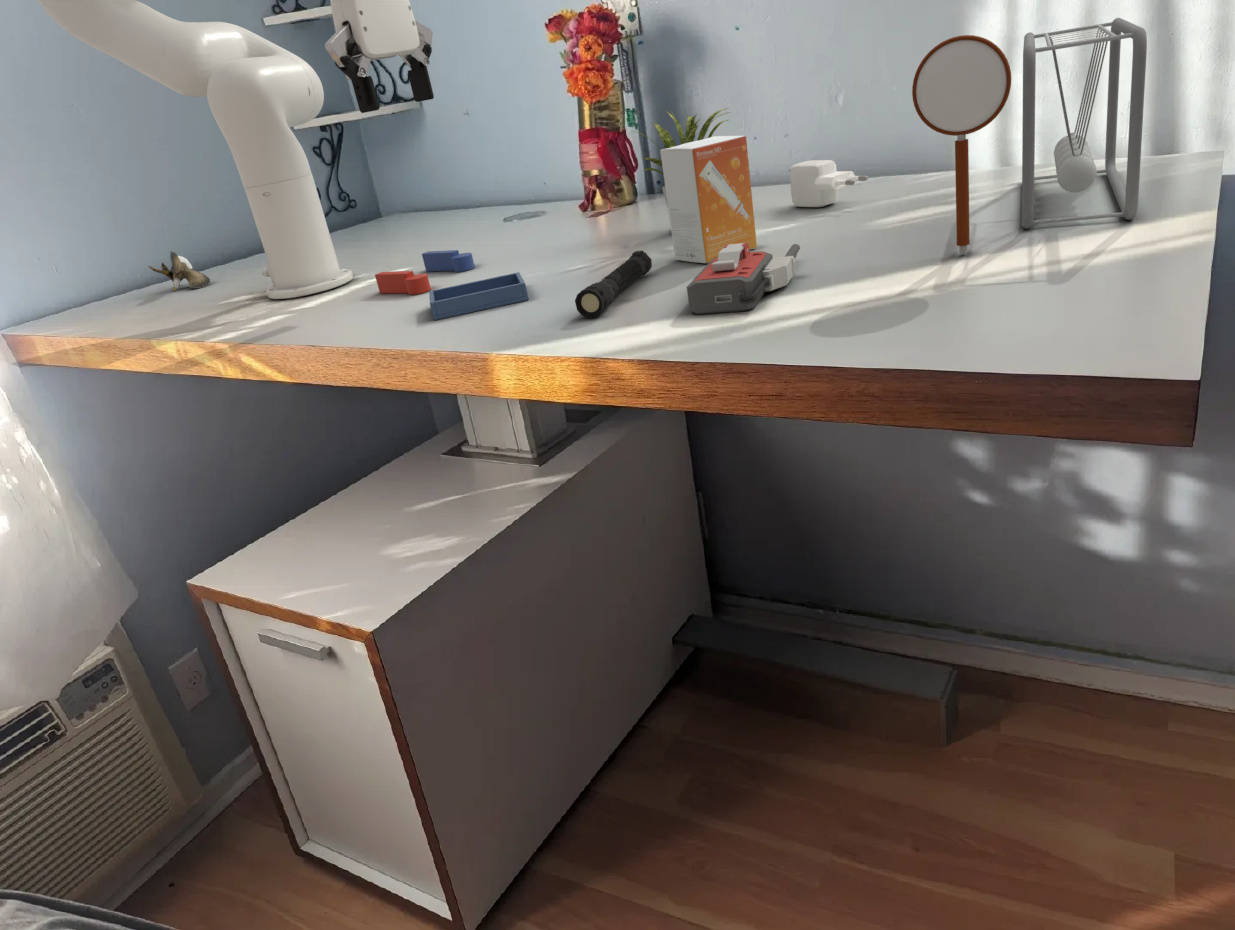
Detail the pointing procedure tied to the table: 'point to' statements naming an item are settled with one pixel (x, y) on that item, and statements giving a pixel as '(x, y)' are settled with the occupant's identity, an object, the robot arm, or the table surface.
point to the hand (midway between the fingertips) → (398, 105)
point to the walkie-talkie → (739, 279)
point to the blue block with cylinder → (448, 261)
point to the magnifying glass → (961, 102)
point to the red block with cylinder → (402, 282)
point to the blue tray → (477, 295)
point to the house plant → (682, 137)
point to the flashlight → (612, 285)
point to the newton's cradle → (1073, 149)
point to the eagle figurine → (182, 272)
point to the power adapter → (818, 182)
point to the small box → (709, 196)
